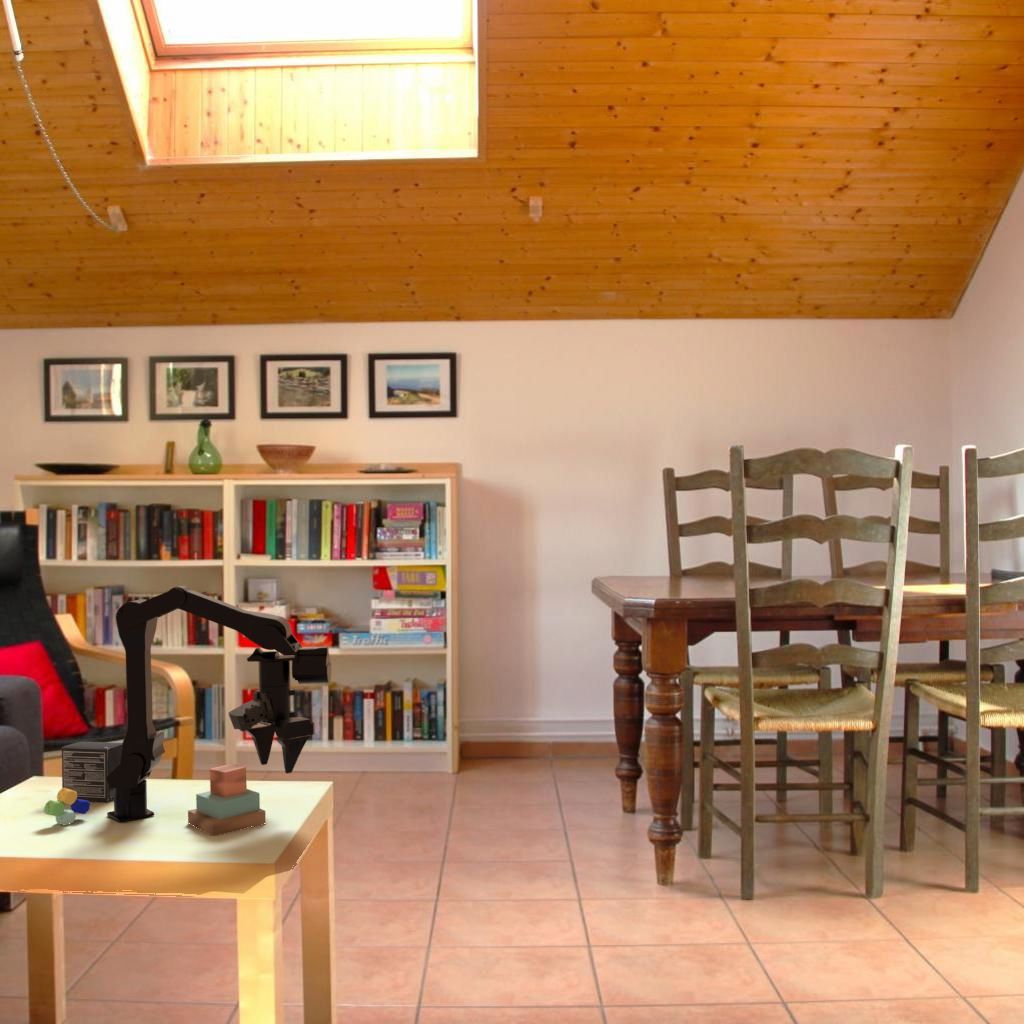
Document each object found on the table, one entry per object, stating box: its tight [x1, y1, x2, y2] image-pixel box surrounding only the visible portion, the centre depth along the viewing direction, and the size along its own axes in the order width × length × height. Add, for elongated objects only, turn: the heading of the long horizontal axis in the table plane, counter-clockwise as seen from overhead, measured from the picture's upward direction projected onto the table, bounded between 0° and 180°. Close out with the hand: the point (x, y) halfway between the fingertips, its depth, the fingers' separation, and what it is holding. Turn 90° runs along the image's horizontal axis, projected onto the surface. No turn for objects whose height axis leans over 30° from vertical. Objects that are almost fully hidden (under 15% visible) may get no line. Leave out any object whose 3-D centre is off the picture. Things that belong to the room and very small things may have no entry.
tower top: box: [195, 788, 261, 820], centre depth 188 cm, size 8×8×3 cm
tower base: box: [187, 808, 267, 837], centre depth 187 cm, size 10×10×3 cm
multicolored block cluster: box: [43, 788, 91, 825], centre depth 189 cm, size 8×3×6 cm, turn 145°
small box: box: [61, 741, 123, 803], centre depth 206 cm, size 11×6×10 cm, turn 77°
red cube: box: [209, 763, 248, 798], centre depth 188 cm, size 4×4×4 cm
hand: (276, 768), depth 194 cm, fingers open, 9 cm apart
